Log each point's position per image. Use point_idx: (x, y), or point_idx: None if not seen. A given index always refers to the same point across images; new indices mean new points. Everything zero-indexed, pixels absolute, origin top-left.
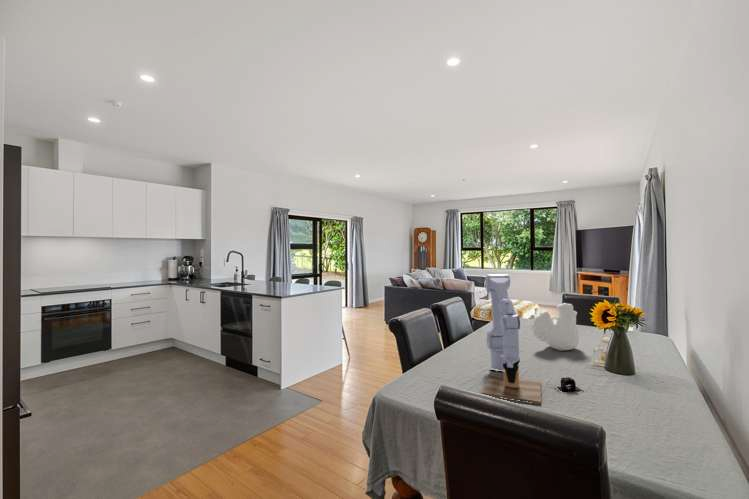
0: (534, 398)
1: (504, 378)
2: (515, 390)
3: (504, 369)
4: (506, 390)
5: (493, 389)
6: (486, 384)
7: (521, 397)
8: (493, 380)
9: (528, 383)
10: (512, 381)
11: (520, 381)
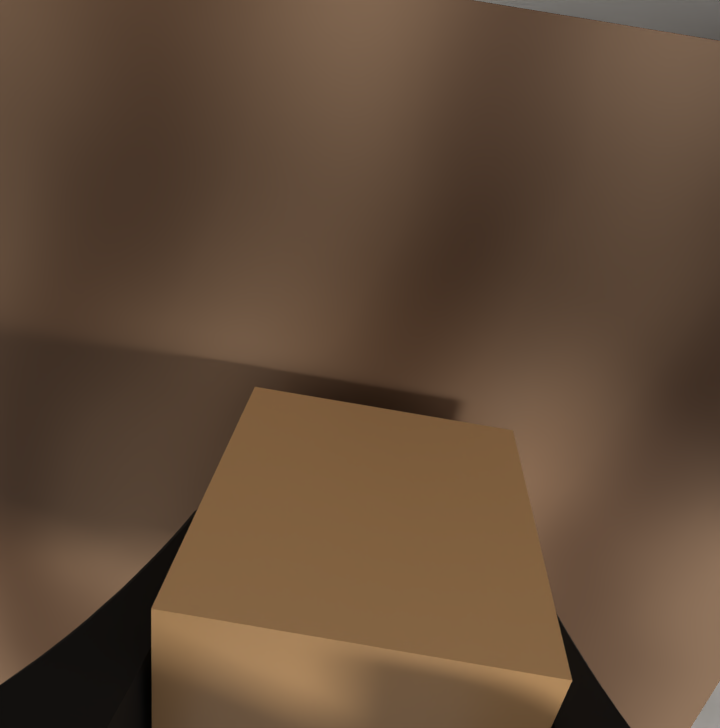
0: None
1: (216, 486)
2: None
3: (335, 650)
4: (176, 390)
5: (128, 170)
6: (368, 16)
7: (4, 542)
8: (643, 194)
9: None
10: None
11: (616, 616)
